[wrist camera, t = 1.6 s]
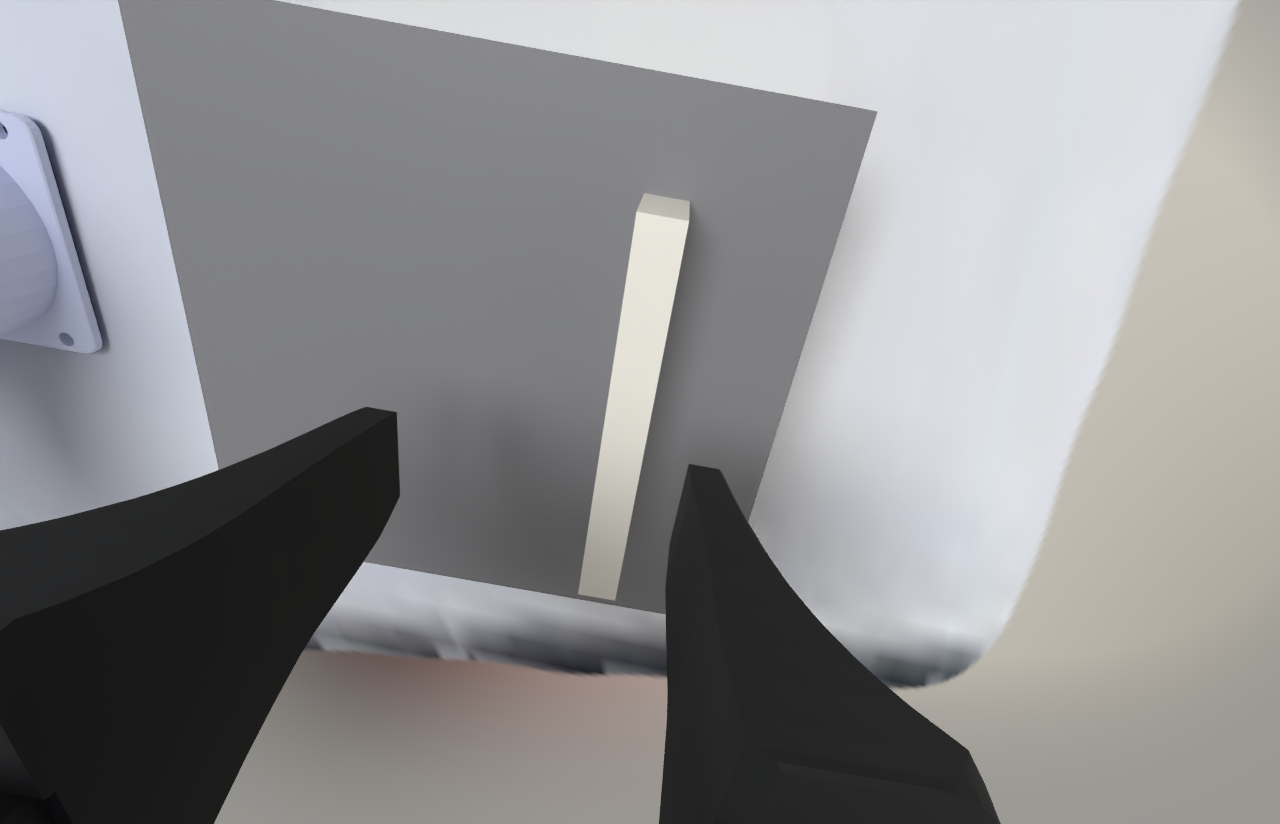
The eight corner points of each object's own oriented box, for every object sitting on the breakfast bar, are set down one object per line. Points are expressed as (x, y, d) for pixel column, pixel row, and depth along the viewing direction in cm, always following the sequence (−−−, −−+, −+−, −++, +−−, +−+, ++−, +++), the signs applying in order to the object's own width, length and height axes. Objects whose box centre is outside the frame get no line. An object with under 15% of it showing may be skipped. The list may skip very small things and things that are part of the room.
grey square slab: (279, 492, 21) (187, 585, 17) (197, -15, 14) (13, -46, 10) (713, 568, 21) (718, 677, 18) (850, 105, 14) (907, 118, 10)
